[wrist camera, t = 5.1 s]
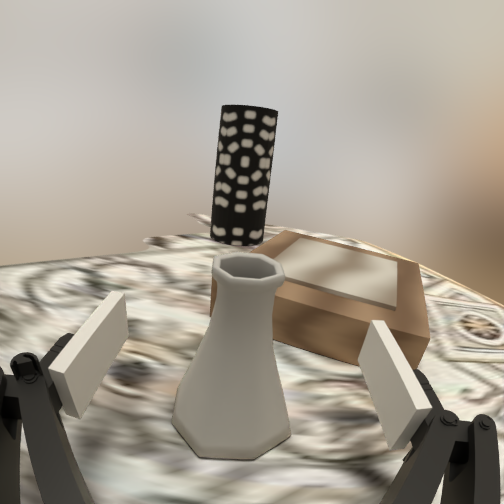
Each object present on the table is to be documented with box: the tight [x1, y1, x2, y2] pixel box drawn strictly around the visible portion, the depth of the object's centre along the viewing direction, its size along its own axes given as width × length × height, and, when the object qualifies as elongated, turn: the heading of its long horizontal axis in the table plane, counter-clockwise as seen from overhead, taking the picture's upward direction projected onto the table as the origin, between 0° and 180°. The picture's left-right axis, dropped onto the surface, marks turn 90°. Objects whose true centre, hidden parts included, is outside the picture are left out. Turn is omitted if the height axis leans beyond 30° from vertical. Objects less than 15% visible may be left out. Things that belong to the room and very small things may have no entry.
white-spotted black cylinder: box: [210, 105, 278, 246], centre depth 46 cm, size 8×8×20 cm
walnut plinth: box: [210, 230, 430, 370], centre depth 31 cm, size 18×18×4 cm
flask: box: [172, 252, 291, 459], centre depth 15 cm, size 7×7×10 cm
